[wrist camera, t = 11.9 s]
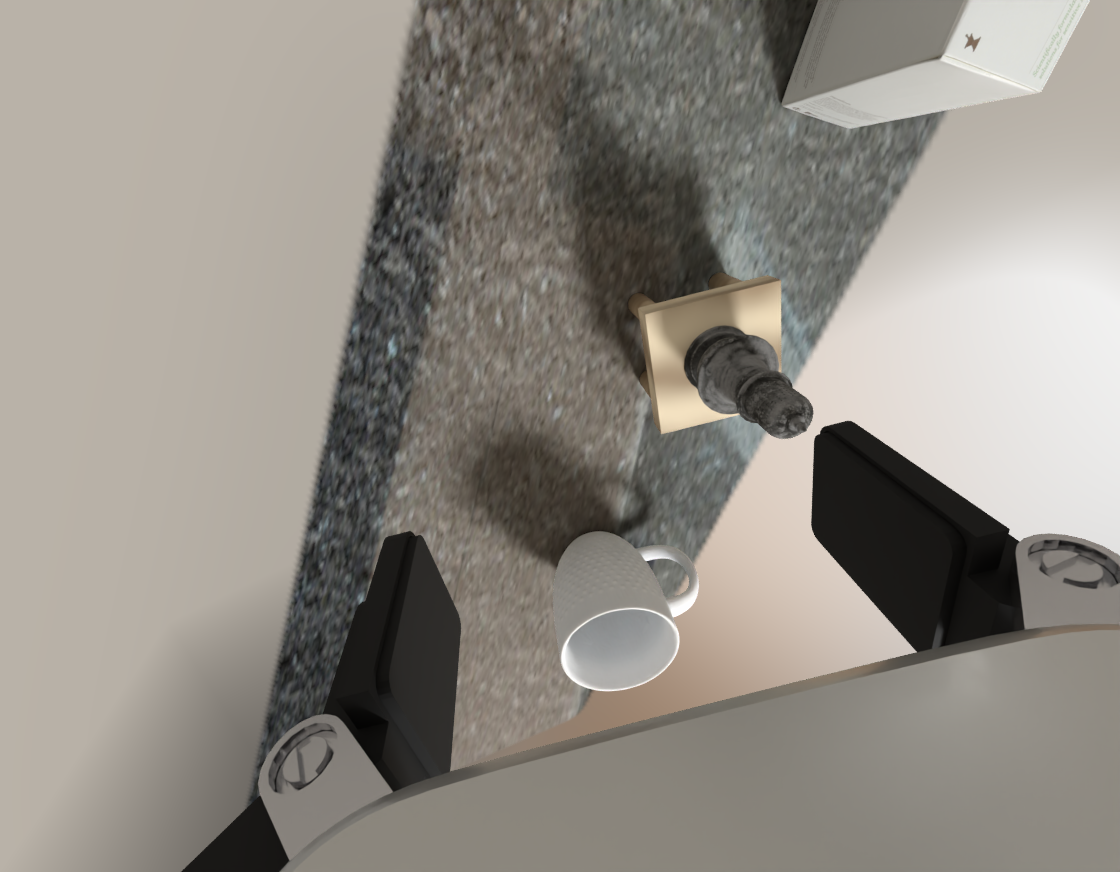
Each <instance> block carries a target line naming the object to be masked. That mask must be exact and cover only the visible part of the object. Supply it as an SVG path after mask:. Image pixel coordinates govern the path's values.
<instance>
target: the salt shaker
mask: <svg viewBox="0 0 1120 872" xmlns="http://www.w3.org/2000/svg"><path fill="white" fill-rule="evenodd" d="M684 370H685V373H686V377H687V378H688V380H689V382H690V383H691V384H692V385H693V386H694V387H696V388H697V389H698V393H699V396H700V398H701V399H702V401H703V403H704V404H705V405H706V406H707V407H709V408H710V409H711V410H713V411H715V412H718V413H720V414H730V415H731V414H738V413H739V414H740V416H741V417H742V418H744V419H745V420H746V421H749V422H751V423H758V424H759V425H760V426H761V427H762V428H763V429H764V430H765V431H767V432H768V433H769V434H770V435H772V436H774V437H776V438H779V439H788V438H793V437H795V436H798V435H799V434H801V433H803V432H805V431H806V430H807V428H808V426H809V425H810V423H811V421H812V418H813V407H812V405H811V403H810V402H809V400H808V399H807V398H806V397H804V396H803V395H801V394H800V393H799V392H797V391H796V390H794V389H793V388H792V383H791V381H790V380H789V378H788V377H787V376H786V375H785V374H783V373H781V372H778V371H779V362H778V356H777V354H776V352H775V350H774V348H773V346H771V345H770V344H769V343H768V342H767V341H766V340H764V339H762V338H760V337H758V336H754V335H747V334H744V333H743V332H742V331H741V330H739V329H737V328H735V327H733V326H726V325H723V326H716V327H713V328H710V329H708V330H706V331H704V332H703V333H701V334H700V335H699V336H698V337H697V338H696V339H695V340H694V341H693V342H692V343H691V345H690V347H689V349H688V350H687V353H686V356H685V360H684Z"/></svg>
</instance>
